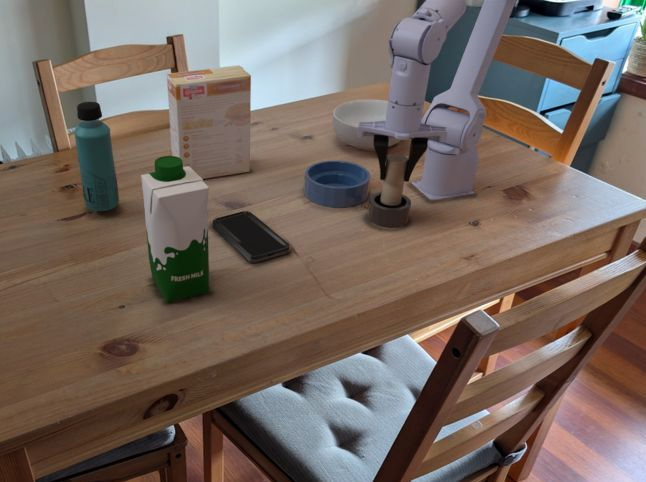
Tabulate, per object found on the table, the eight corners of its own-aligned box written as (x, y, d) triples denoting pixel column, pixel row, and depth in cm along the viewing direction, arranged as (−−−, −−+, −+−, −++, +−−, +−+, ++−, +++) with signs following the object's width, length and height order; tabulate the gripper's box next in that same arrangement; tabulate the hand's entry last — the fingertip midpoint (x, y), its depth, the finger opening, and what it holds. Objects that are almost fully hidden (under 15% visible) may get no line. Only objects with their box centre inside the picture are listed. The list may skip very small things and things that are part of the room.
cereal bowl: (331, 128, 159) (334, 97, 155) (404, 131, 158) (409, 100, 153) (329, 157, 146) (332, 125, 142) (409, 161, 145) (414, 128, 140)
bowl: (351, 178, 139) (353, 157, 136) (378, 205, 129) (381, 183, 127) (294, 186, 136) (295, 164, 133) (318, 214, 127) (320, 192, 124)
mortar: (396, 209, 128) (399, 189, 126) (414, 227, 123) (418, 206, 120) (360, 214, 127) (363, 194, 124) (378, 232, 121) (381, 212, 119)
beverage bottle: (127, 206, 130) (115, 100, 117) (108, 222, 125) (94, 113, 113) (98, 200, 132) (83, 95, 119) (78, 215, 127) (61, 107, 115)
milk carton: (195, 266, 113) (191, 150, 101) (217, 295, 107) (215, 174, 94) (145, 278, 110) (133, 160, 98) (164, 308, 104) (154, 186, 91)
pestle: (395, 195, 124) (401, 152, 119) (404, 204, 121) (411, 161, 116) (376, 198, 123) (383, 155, 118) (386, 206, 121) (392, 163, 116)
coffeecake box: (239, 159, 146) (240, 64, 134) (250, 172, 141) (252, 75, 129) (171, 169, 143) (165, 72, 130) (180, 183, 137) (175, 83, 125)
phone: (247, 209, 126) (292, 246, 115) (247, 215, 126) (291, 252, 116) (209, 219, 123) (251, 258, 113) (209, 225, 124) (251, 264, 113)
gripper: (360, 106, 109) (351, 185, 118) (454, 111, 107) (438, 191, 116) (361, 91, 114) (352, 168, 123) (451, 95, 112) (436, 173, 121)
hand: (394, 178), depth 120 cm, fingers closed on pestle, 3 cm apart
